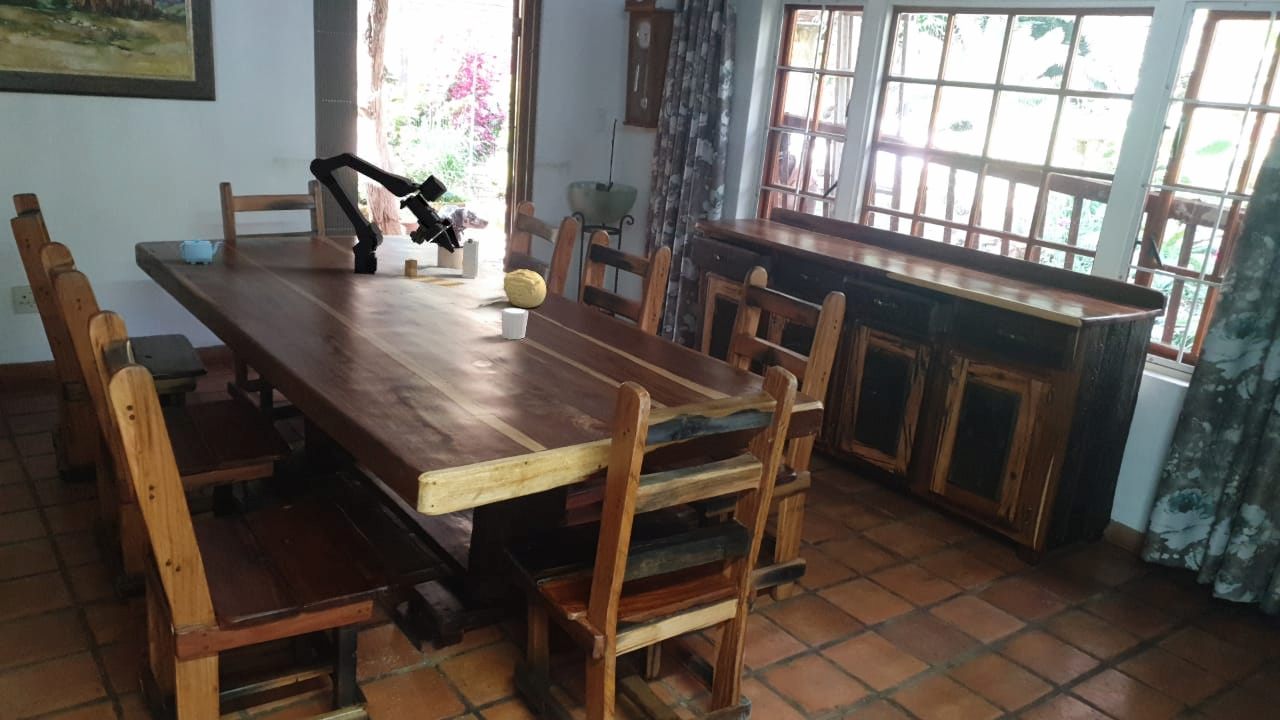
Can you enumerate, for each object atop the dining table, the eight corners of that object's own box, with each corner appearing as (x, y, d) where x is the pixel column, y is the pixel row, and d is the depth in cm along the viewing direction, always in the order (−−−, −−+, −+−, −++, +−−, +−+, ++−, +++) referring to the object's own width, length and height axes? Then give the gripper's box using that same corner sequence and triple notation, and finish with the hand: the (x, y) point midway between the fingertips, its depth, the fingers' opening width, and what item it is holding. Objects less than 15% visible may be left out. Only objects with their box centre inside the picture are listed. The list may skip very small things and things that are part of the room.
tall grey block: (462, 280, 296) (463, 239, 292) (464, 277, 300) (466, 237, 297) (474, 281, 296) (476, 240, 292) (477, 278, 301) (478, 238, 297)
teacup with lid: (468, 272, 312) (470, 237, 309) (443, 273, 307) (445, 238, 303) (452, 265, 321) (453, 231, 318) (428, 266, 316) (429, 232, 312)
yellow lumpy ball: (497, 305, 270) (498, 268, 267) (519, 298, 281) (521, 263, 278) (530, 312, 266) (532, 275, 263) (552, 305, 276) (554, 269, 273)
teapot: (221, 260, 294) (220, 237, 292) (224, 264, 290) (223, 240, 287) (179, 261, 288) (178, 237, 286) (181, 265, 283) (180, 240, 281)
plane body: (395, 281, 288) (396, 260, 286) (412, 277, 296) (412, 257, 294) (452, 292, 280) (453, 271, 279) (468, 288, 288) (468, 267, 286)
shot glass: (505, 341, 234) (506, 314, 232) (496, 333, 240) (497, 307, 238) (530, 340, 237) (532, 313, 235) (521, 332, 243) (522, 306, 241)
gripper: (411, 223, 302) (443, 260, 306) (396, 231, 284) (431, 271, 288) (436, 202, 300) (468, 239, 304) (423, 209, 283) (457, 248, 286)
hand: (456, 250), depth 295 cm, fingers open, 9 cm apart
